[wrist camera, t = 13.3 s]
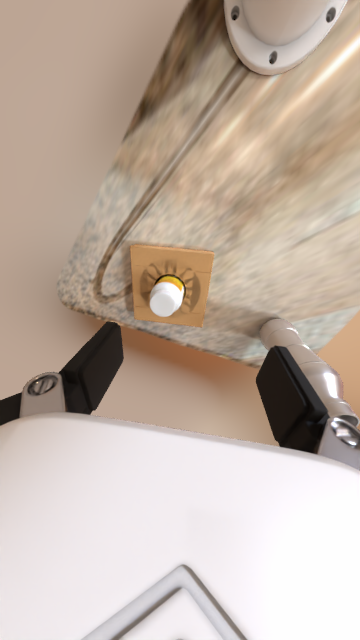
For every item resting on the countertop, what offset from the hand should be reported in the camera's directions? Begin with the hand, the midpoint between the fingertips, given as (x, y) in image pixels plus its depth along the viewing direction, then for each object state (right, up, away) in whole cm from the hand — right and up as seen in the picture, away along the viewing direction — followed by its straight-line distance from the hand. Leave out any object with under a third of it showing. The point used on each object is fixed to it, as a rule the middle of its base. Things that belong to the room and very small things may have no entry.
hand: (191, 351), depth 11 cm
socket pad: (-2, +9, +23) cm, 25 cm away
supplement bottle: (-2, +9, +23) cm, 25 cm away
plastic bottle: (+19, 0, +26) cm, 32 cm away
